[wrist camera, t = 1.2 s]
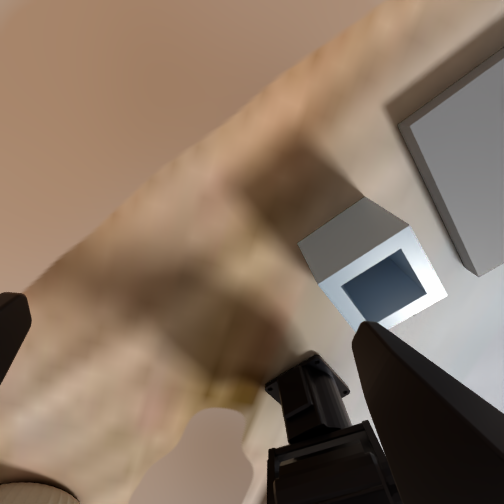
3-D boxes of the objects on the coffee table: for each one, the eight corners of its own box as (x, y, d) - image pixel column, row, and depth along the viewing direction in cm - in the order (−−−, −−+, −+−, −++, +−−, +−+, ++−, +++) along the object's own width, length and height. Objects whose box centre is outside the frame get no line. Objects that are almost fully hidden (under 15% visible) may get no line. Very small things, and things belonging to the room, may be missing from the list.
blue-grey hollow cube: (398, 253, 24) (447, 295, 18) (335, 293, 25) (363, 343, 20) (365, 196, 21) (409, 225, 16) (297, 243, 23) (317, 284, 17)
